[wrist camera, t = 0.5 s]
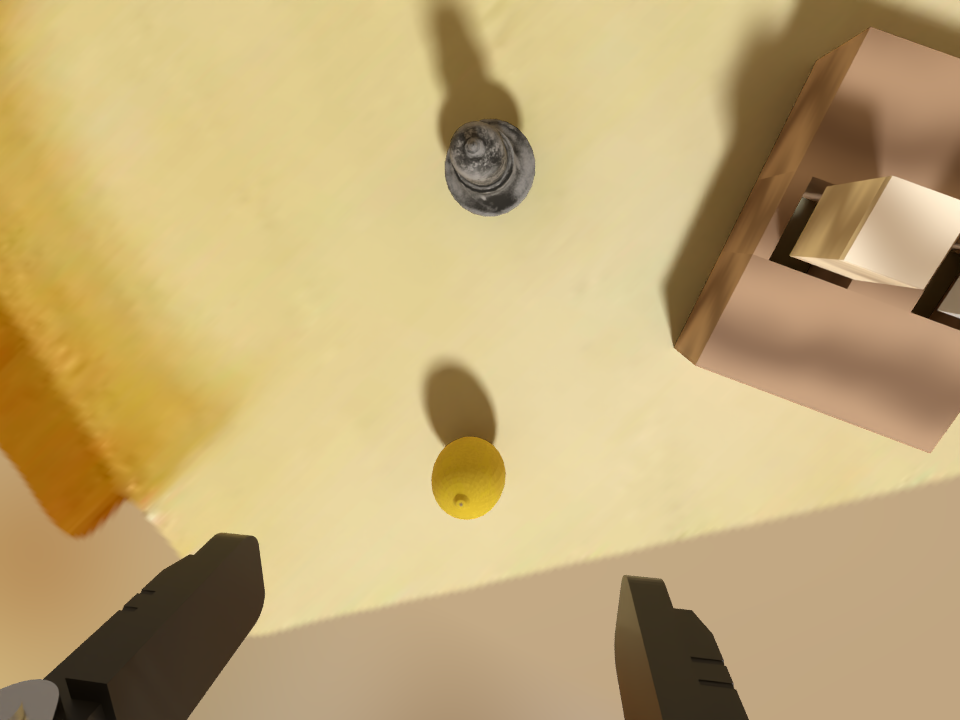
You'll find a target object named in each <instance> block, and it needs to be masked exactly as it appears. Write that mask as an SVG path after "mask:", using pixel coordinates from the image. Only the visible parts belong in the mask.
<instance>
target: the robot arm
mask: <svg viewBox="0 0 960 720" xmlns="http://www.w3.org/2000/svg"><path fill="white" fill-rule="evenodd" d="M264 598H265V589H264V582H263V574H262V566H261V559H260V551H259V544H258V541H257V539H256V538H255V537H254V536H249V535H239V534H229V533H219V534H216V535H215V536H214V537H212V538H211V539H210V540H209V541H208V542H207V543H206V544H205V545H204V546H203V547H202V548H201V549H200V550H199V551H198V552H197V553H195V554H194V555H188V556H186V557H185V558H183V559H181V560H179V561H178V562H176V563H174V564H173V565H171V566H169V567H167V568H166V569H164V570H163V571H162V572H160V573H159V574H158V575H157V576H156V577H155V578H154V579H153V580H152V581H150V582H149V583H148V584H147V585H146V586H145V587H144V588H143V589H142V591H141V593H140V594H138V593H137V594H136V595H135V596H134V597H133V598H132V599H131V600H130V601H129V602H128V603H126V604H125V605H124V608H123V610H122V611H121V610H119V611H118V612H116V613H115V614H114V615H113V616H112V617H111V618H110V619H109V620H108V621H107V622H105V623H104V624H103V625H102V626H101V627H100V628H99V629H98V630H97V631H96V632H95V633H93V634H92V635H91V636H90V637H89V638H88V639H87V640H86V641H85V642H84V643H82V644H81V645H80V647H78V648H77V649H76V650H75V651H74V652H73V653H71V654H70V655H69V656H68V657H67V658H66V659H65V660H64V661H63V662H62V663H60V664H59V665H58V666H57V667H56V668H55V669H54V670H53V671H52V672H51V673H50V674H48V675H47V676H46V677H45V678H44V679H43V680H41V679H37V680H28V681H23V682H19V683H16V684H13V685H10V686H7V687H5V688H2V689H0V720H187V719H188V717H189V715H190V714H191V713H192V712H193V710H194V709H195V707H196V706H197V705H198V703H199V702H200V700H201V699H202V698H203V696H204V695H205V693H206V692H207V691H208V689H209V687H210V686H211V685H212V684H213V682H214V681H215V679H216V678H217V677H218V675H219V674H220V672H221V671H222V670H223V668H224V667H225V665H226V664H227V663H228V661H229V660H230V658H231V657H232V656H233V654H234V653H235V651H236V650H237V649H238V647H239V646H240V645H241V643H242V642H243V640H244V639H245V638H246V636H247V635H248V633H249V632H250V631H251V629H252V628H253V626H254V625H255V623H256V622H257V620H258V618H259V616H260V614H261V611H262V608H263V604H264ZM615 664H616V671H617V677H618V683H619V689H620V695H621V700H622V706H623V712H624V718H625V720H749V719H748V717H747V714H746V712H745V710H744V707H743V705H742V702H741V700H740V698H739V695H738V693H737V691H736V690H735V689H734V687H733V681H732V679H731V677H730V674H729V672H728V669H727V667H726V666H724V660H723V658H722V655H721V653H720V651H719V648H718V646H717V643H716V641H715V639H714V636H713V634H712V633H711V632H710V631H709V630H708V628H707V627H706V626H705V625H704V624H703V623H702V622H701V620H700V619H699V618H698V617H697V616H696V615H695V613H694V612H693V611H692V610H684V609H675V608H673V606H672V603H671V600H670V597H669V594H668V592H667V589H666V586H665V583H664V582H663V580H662V579H657V578H648V577H638V576H629V575H624V576H623V578H622V583H621V590H620V598H619V606H618V614H617V622H616V630H615Z"/></svg>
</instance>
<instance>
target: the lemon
mask: <svg viewBox="0 0 960 720" xmlns="http://www.w3.org/2000/svg"><path fill="white" fill-rule="evenodd" d="M505 474H506V473H505V467H504V462H503V460H502V457H501V455H500V453H499V452H498V451H497V449H496V448H495V447H494V446H493V445H492V444H490V443H489V442H488V441H486V440H484V439H481V438H478V437H463V438H460V439H456V440H455V441H453V442H451V443H450V444H448V445H447V446H446V447H445V448H444V449H443V450H442V451H441V453H440V454H439V456H438V458H437V460H436V462H435V464H434V467H433V473H432V490H433V494H434V496H435V499H436V501H437V503H438V504H439V506H440V507H441V508H442V509H443V510H444V511H445V512H446V513H447V514H449V515H451V516H453V517H455V518H459V519H466V520H468V519H475V518H478V517H480V516H483V515H484V514H486V513H487V512H488V511H490V510H491V509H492V508H493V507H494V505H495V504H496V503H497V501H498V500H499V498H500V496H501V493H502V491H503V488H504V485H505Z"/></svg>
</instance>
